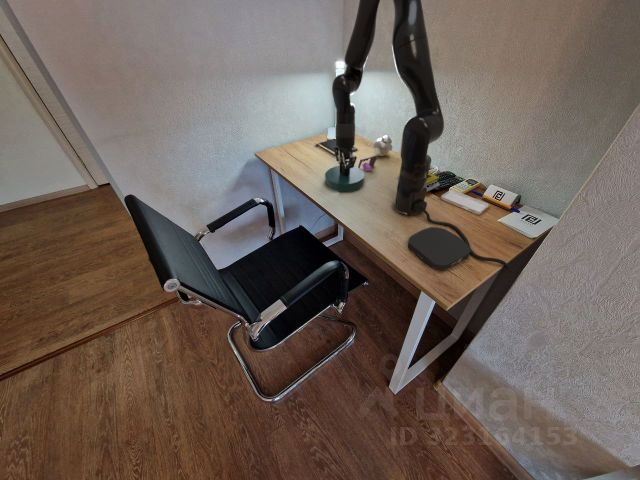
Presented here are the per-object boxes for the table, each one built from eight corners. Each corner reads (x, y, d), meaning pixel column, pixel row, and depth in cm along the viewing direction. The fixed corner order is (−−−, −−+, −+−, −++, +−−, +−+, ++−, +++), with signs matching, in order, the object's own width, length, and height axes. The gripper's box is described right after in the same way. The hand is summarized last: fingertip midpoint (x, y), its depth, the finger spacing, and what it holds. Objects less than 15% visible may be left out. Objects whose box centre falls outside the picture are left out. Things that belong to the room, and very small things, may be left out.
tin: (370, 185, 112) (371, 177, 110) (338, 196, 107) (338, 188, 104) (349, 170, 123) (350, 163, 120) (319, 180, 117) (319, 173, 115)
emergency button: (427, 182, 103) (399, 169, 112) (425, 192, 106) (398, 178, 115) (443, 175, 106) (414, 163, 116) (440, 185, 109) (412, 172, 119)
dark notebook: (358, 147, 139) (334, 154, 133) (358, 150, 140) (334, 157, 135) (337, 136, 152) (315, 142, 147) (337, 139, 153) (315, 145, 148)
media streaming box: (435, 229, 88) (438, 222, 86) (473, 255, 78) (477, 248, 76) (402, 244, 83) (403, 237, 81) (438, 274, 73) (440, 267, 71)
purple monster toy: (376, 154, 119) (359, 158, 117) (382, 161, 117) (365, 166, 114) (372, 165, 125) (356, 170, 122) (377, 172, 123) (361, 177, 120)
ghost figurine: (386, 160, 129) (388, 140, 122) (369, 156, 133) (370, 137, 127) (394, 154, 134) (397, 134, 127) (377, 150, 139) (379, 131, 132)
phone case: (488, 207, 96) (450, 192, 105) (489, 204, 95) (451, 189, 104) (478, 215, 93) (440, 199, 102) (480, 212, 92) (440, 196, 101)
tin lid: (372, 179, 110) (373, 166, 106) (338, 190, 104) (338, 178, 101) (350, 164, 121) (350, 152, 118) (318, 174, 116) (317, 162, 112)
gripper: (327, 130, 104) (328, 170, 116) (347, 141, 95) (346, 183, 106) (343, 126, 107) (343, 165, 118) (364, 136, 97) (361, 178, 109)
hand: (344, 173), depth 112 cm, fingers open, 3 cm apart
